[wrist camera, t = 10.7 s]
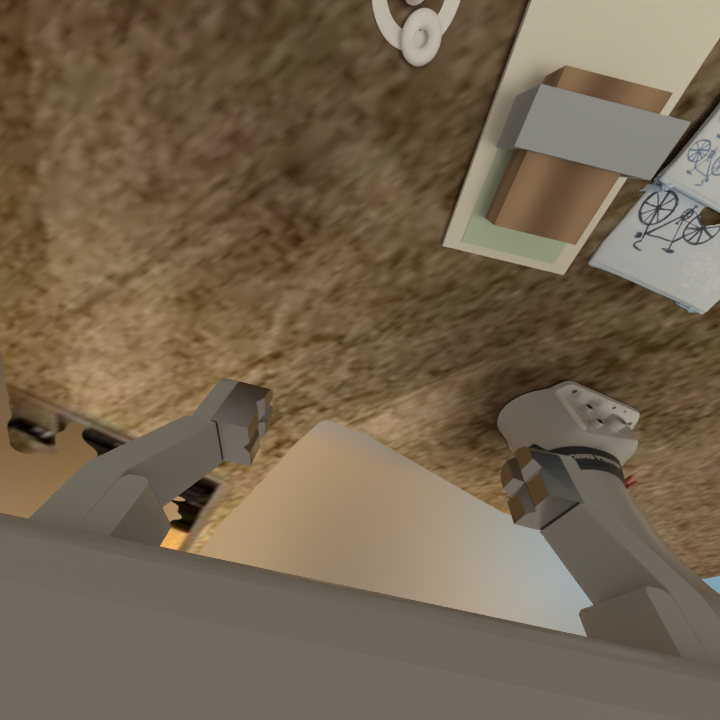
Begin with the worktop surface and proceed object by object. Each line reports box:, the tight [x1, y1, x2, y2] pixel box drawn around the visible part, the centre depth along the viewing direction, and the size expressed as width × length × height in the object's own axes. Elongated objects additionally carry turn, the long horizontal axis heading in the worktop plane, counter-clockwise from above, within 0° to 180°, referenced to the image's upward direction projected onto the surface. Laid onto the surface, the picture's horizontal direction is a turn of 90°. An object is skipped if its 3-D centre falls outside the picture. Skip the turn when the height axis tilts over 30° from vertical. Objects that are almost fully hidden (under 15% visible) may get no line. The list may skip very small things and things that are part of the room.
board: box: [442, 0, 720, 275], centre depth 28 cm, size 16×28×1 cm, turn 169°
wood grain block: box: [485, 65, 673, 245], centre depth 28 cm, size 9×12×4 cm
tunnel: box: [496, 84, 691, 180], centre depth 26 cm, size 12×4×6 cm, turn 79°
